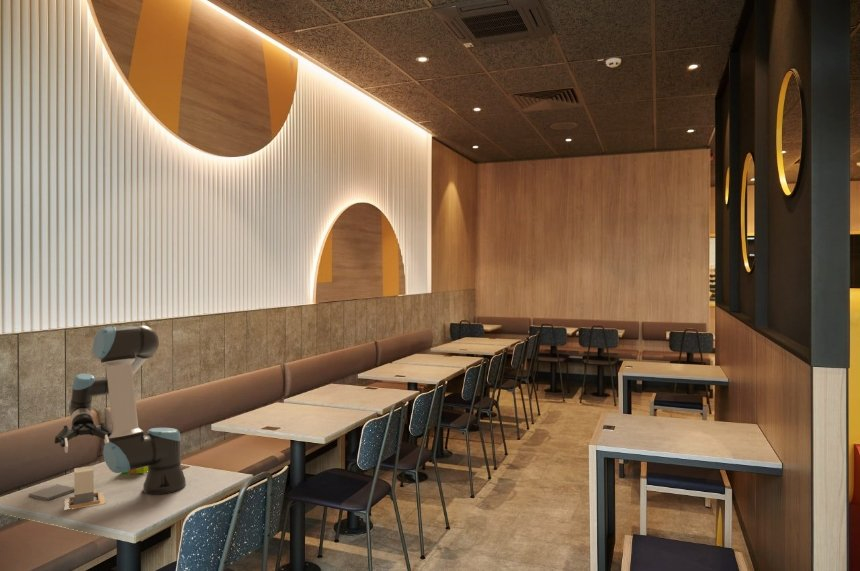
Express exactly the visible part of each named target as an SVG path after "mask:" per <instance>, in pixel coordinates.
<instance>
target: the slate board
mask: <svg viewBox="0 0 860 571" xmlns="http://www.w3.org/2000/svg"><path fill="white" fill-rule="evenodd" d="M72 491H74V492H75V487H73V486H68V485H63V484H55V485H51V486H48V487H45V488H42V489H38V490H36V491H33V492H31V493H28V497H29V498H35V499H39V500H43V499H44V501H51V500H54V499H56V497H57V498H60V497H62V496H61V495H63V496H64V494H65V495H68V494H70V493H69V492H71V493H73V492H72ZM67 493H68V494H67ZM59 496H60V497H59ZM53 498H54V499H53ZM50 499H51V500H50Z"/></svg>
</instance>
